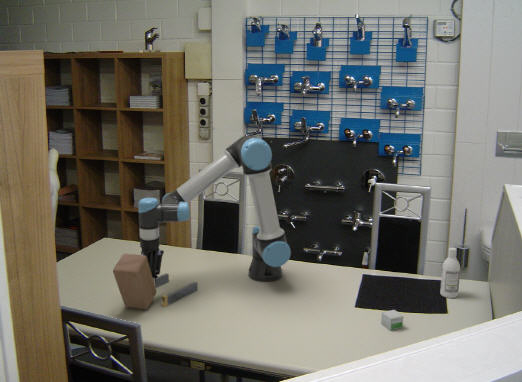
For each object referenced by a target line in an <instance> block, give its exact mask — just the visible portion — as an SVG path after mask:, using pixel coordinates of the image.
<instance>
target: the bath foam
mask: <svg viewBox="0 0 522 382" xmlns="http://www.w3.org/2000/svg"><path fill="white" fill-rule="evenodd" d="M447 255H448V257H447V258H446V259H445V260H444V261H443V263H442V266H441V279H440V289H439V290H440V291H439V292H440V295H441V296H442V297H444V298H448V299H455V298H457V297H459V290H460V289H459V288H460V278H461V277H460V276H461V265H460V261H458V259H457V248H456V247H449V248H448V254H447Z"/></svg>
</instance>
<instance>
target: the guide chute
mask: <svg viewBox="0 0 522 382" xmlns="http://www.w3.org/2000/svg"><path fill="white" fill-rule="evenodd" d="M168 282H169V283H170V278H169V273H163V274H161V275H158V278H156V285H155V288H156V289H157V288H158V287H160V286H162V285H165V284H167V283H168ZM197 291H198V282H196V281H193V282H191V283H189V284H187V285H185V286H183V287H181V288H179V289H177V290H174V291H172V292H169V293H168V294H163V295H161V304H162V306H163V307H165V308H166V307H168V306H169V305H171V304H173V303H175V302H177V301H179V300H181V299H183V298H185V297H187V296H189V295H191V294H193V293H196V292H197Z"/></svg>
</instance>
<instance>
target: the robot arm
mask: <svg viewBox="0 0 522 382" xmlns="http://www.w3.org/2000/svg"><path fill="white" fill-rule="evenodd" d="M272 158H273V153H272V148H271V147H270V145H269V144H268V143H267V142H266V141H265V140H263V139H262V138H259V137H258V136H255V135H251V134H247V135H243V136H241V137H240V138H238V139H237V140H235V141H234V142H233V143H232V144H230V145H229V146H228V147H226V148H225V149H224V151H223V154H221V155H220V156H219V157H217V158H216V159H215V160H213V161H212V162H210V164H208V165H206V167H204V168H203V169H202V170H200V171H198V173H196V174H195V175H194V176H192V177H191V178H190V179H189V180H187V181H185V182H184V183H183V184H181V185H180V186H179V187H178V188H176V189H174V191H172V192H168V193H166V194H165V195H164V196H163V197H162V199H161V203H160V202H159V200H158V199H157V198H155V197H144V198H141V199H140V200H139V201H138V224H139V247H140V248H141V251H140V255H145V256H146V257H147V260H148V264H149V267H150V271H151V274H152V278H153V281H154V285H156V278H158V277H159V276H160V274H161V268H162V267H161V266H162V260H163V256H164V253H165V251H164V250H162V249H160V245H161V244H160V223H173V222H180V223H181V222H186V221H189V220H190V215H191V214H190V204H189V203H190V202H191V201H193V200H194V199H196V198H197V197H198V196H199V195H201V194H202V193H203V192H205V191H206V190H208V188H210V187H211V186H213V185H215V184H216V183H217V182H218V181H220V180H221V179H223V177H225V176H226V175H227V174H229V173H230V172H231V171H232V170H235V168H236V169H240V168H242V172H243V175H244V176H246V177H247V179H248V183H249V187H250V193H251V196H252V200H253V206H254V212H255V216H256V221H257V225H255V226H253V227H252V232H251V235H252V238H251V239H252V247H251V248H252V253H251V254H252V255H251V256H252V259H251V262H250V265H249V269H248V277H249V278H250V279H252V280H254V281H257V282H273V281H276V280H277V281H278V280H279V279H281V278H282V277H283V268H282V266H284V265H285V264H286V263H287V262H288V261H289V259H290V257H291V254H292V252H291V247H290V245H289V243H288V242H287V238H286V234H285V230H284V229H283V228H282V227H280V221H279V216H278V211H277V206H276V201H275V197H274V191H273V187H272V181H271V176H270V172H271V171H272V169H273V167H272V166H273V165H272V162H271V161H272Z"/></svg>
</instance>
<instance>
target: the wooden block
mask: <svg viewBox="0 0 522 382" xmlns="http://www.w3.org/2000/svg"><path fill="white" fill-rule="evenodd" d="M112 273H113V275H114V279H115V281H116V285H117V288H118V291H119V293H120V296H121V299H122V302H123V305H124V307H126V308H131V309H132V308H133V309H139V310H148V309H149V307H150V305H151V303H152V301H153V300H154V298H155V296H156V293H157V287H156V288H155V285H154V281H153V278H152V274H151V271H150V267H149V264H148V260H147V257H146V256H145V255H141V254H136V253H135V254H133V253H123V254H122V255H121V256H120V258H119V260H118V261H117V263H116V264H115V266H114V268H113V270H112Z"/></svg>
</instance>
